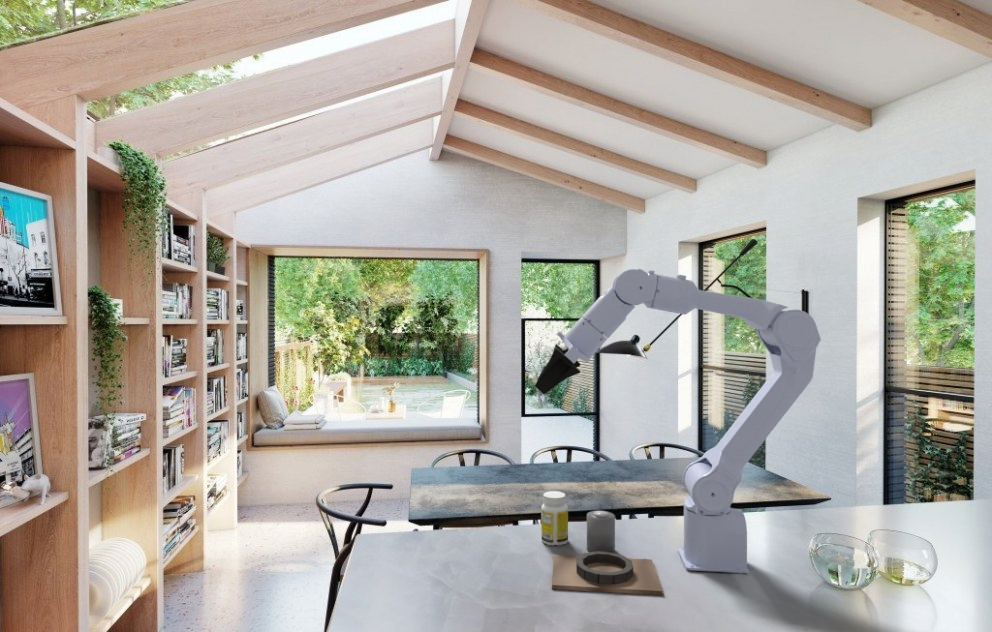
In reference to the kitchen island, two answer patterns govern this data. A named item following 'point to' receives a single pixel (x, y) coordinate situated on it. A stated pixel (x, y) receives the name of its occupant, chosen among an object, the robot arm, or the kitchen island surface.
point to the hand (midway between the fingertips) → (540, 386)
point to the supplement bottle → (554, 518)
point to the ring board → (605, 573)
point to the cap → (600, 531)
